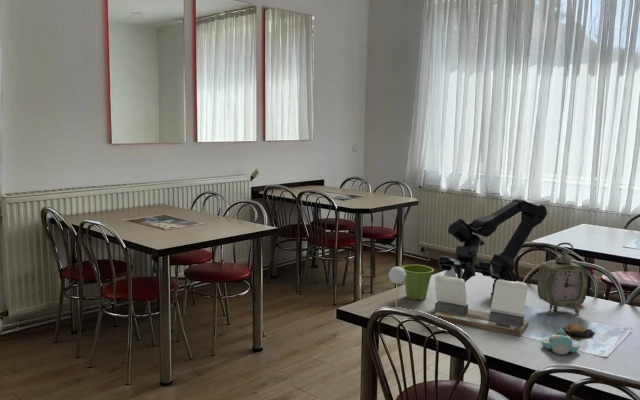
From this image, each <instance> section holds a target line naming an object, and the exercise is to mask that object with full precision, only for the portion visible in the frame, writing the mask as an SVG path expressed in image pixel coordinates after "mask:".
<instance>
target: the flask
mask: <svg viewBox="0 0 640 400" xmlns="http://www.w3.org/2000/svg"><path fill="white" fill-rule="evenodd" d="M451 260H452V261H455V260H456V259H454V258H451ZM444 271H445V272H444V274H443V276H447V277H453V278H457V274H456V273H455V271H454V268H453V267H452V269H451V270H450V271H447V270H444Z"/></svg>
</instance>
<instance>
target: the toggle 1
mask: <svg viewBox="0 0 640 400" xmlns="http://www.w3.org/2000/svg"><path fill="white" fill-rule="evenodd" d="M434 285H435V294H436V295H435V296H436V302H438V301H442V302H447V303H453V304H458V305H464V306H466V305H468V303H467V291H466V282H465V281H464V280H463V279H460V278H453V277H447V276H444V275H440V274H437V275H435V277H434Z"/></svg>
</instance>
